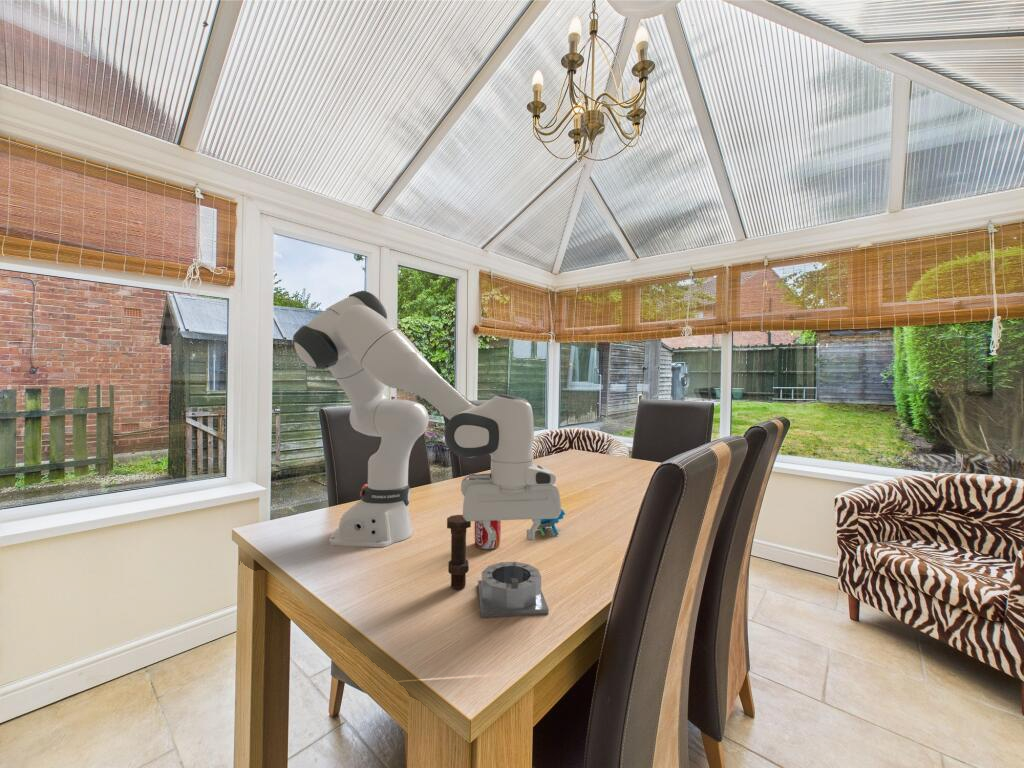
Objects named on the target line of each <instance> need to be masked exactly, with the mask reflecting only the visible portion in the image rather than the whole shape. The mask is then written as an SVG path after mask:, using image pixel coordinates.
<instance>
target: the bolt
mask: <svg viewBox="0 0 1024 768" xmlns="http://www.w3.org/2000/svg"><path fill="white" fill-rule="evenodd" d="M471 522H472V521H466V520H465V519H464V518H463V514H456V515H450V516H448V517H447V518H446V529H449V530H450V534H451V535H450V538H451V539H450V549H451V552H450V555H451V556H450V560H449V561H448V562H447V563H448V565H447V566H448V573H449V574H450V587H451V588H452V589H454V590H459V591H460V590H463V588H465V587H466V584H467V582H466V581H467V579H466V578H467V576H466V575H467V573H468V572H469V569H470V567H469V566H470V565H469V564H470V563H469V560H468V559H467V558H466V557H467V529H468V528H471V526H472V525H471V524H472V523H471Z"/></svg>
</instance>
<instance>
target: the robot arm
mask: <svg viewBox="0 0 1024 768" xmlns="http://www.w3.org/2000/svg"><path fill="white" fill-rule="evenodd" d="M292 343H293V346H294V349H295V352H296V353H297V355H298V356H299V358H300V359H301V360H302V361H303V362H304V363H305V364H307V365H308V366H310V367H312V368H313V369H316V370H325V369H328V370H329V371H330V373H331V374H332V376H333V377H334V379H335V380H336V381H337V383H338V384H339V386H340V387H341V389H342V390H343V392H344V393H345V394H346V396H347V397H348V401H350V405H351V409H350V413H349V423H350V425H351V427H352V429H353V430H355V431H356V432H358V433H360V434H363V435H366V436H369V437H379V438H381V439H380V444H379V448H378V449H377V451H376V452H375V453H373V454H372V455H371V456H370V457H369V459H368V460H367V483H365V484H363V486H361V489H360V492H359V497H360V500H359V501H357V502H356V503H355V504H354V505H352V506H350V508H348V509H347V510H346V511H345V512H344V513H343V514H342V516H341V517H340V520H339V523H338V528H336V529H334V531H332V532H331V534H330V535H329V541H328V542H329V544H330V545H331V546H346V547H368V548H369V547H371V548H372V547H373V548H384V547H387V546H389V545H392V544H395V543H397V542H402V541H404V540H407V539H408V538H410V537H411V536H412V535H413V534H414V530H413V525H412V522H411V521H412V520H411V517H410V510H409V509H410V508H409V504H410V500H411V499H410V498H411V497H410V495H411V489H410V483H409V465H410V463H409V461H410V456H411V452H412V450H413V447H414V445H415V443H416V441H418V439H419V438H420V437H421V436H422V435H424V433H425V432H426V431H427V429H428V426H429V421H430V420H429V419H430V417H429V413H428V410H427V409H426V407H425V406H424V405H423V403H419V402H416V401H413V400H410V399H395V398H394V399H392V398H389V397H387V396H386V395H385V394H384V391H383V390H384V388H385V387H386V386H387V387H389V388H393V389H397V390H400V391H405V392H409V393H412V394H414V395H417V396H419V397H421V398H423V399H424V400H426V401H427V402H428V403H429V404H430V405H432V406H433V408H435V409H437V411H439V413H441V414H442V416H444V417H445V418H447V420H449V421H447V423H446V425H445V428H444V441H445V442H444V443H445V444H446V446H447V448H448V449H449V450H450V452H452V453H453V454H454V455H456V456H458V457H461V458H476V457H479V456H480V457H481V456H486V455H489V456H490V473H469V474H468V475H467V476H465V477H463V479H462V480H461V484H460V490H461V491H460V492H461V494H462V495H463V503H462V515H463V518H464V519H465V520H466V521H471V522H475V521H483V525H484V527H485V529H486V531H487V533H488V541H489V542H495V541H496V538H495V537H496V532H495V531H491V529H490V527H489V526H490V521H491V520H501V521H515V520H516V521H518V520H519V521H520V520H521V521H522V520H531V522H532V525H531V527H530V529H529V528H528V529H526V539H527V541H535V539H536V532H537V531H538V530H539V529H538V527H539V525H540V519H554V518H558V517H559V515H560V514H561V509H562V507H561V505H562V503H561V496H560V491H559V488H558V487H557V485H556V481H557V480H556V477H557V476H556V474H555V473H554V471H552V470H551V469H550V468H548V467H545V466H542V465H539V464H535V463H534V454H533V449H532V448H533V442H534V437H535V430H534V428H535V427H534V426H535V425H534V424H535V423H534V422H535V421H534V414H533V407H532V404H531V403H530V402H529V401H528V400H527V399H526V398H523V397H520V396H517V395H512V394H506V393H500V394H496V395H494V396H493V397H492V398H490V399H489V400H487V401H486V402H483V403H482V404H476V403H475V402H472V401H471V400H469V399H468V398H466V397H465V396H464V395H463V394H462V393H461V392H459V390H458V389H456V388H455V387H454V386H453V385H452V384H450V383H449V382H448V381H447V380H446V378H444V377H443V376H442V375H440V373H438V371H437V370H436V369H435V368H434V366H432V365H431V363H430V362H429V361H428V360H427V358H426V357H425V356H424V355H423V354H422V353H421V352H420V351H419V349H418V348H417V347H416V346H415V344H414V343H413V342H412V341H411V340H410V339H409V338H408V337H407V336H406V335H405V333H403V332H402V331H401V330H400V329H399V328H398V327H397V326H396V325H395V324H393V323H392V322H391V321H390V320H389V319H388V314H387V310H386V309H385V306H384V305H383V303H382V302H381V300H380V299H379V298H378V297H377V296H376V295H374V294H373V293H371V292H369V291H366V290H360V291H356V292H353V293H351V294H349V295H348V296H347V297H346V298H343V299H341V300H339V301H337V302H335V303H333V304H332V305H330V306H328V307H327V308H326V309H325V310H324V311H322V312H321V313H319V314H318V315H317V316H315V317H314V318H313V319H311V320H310V321H309V322H308V323H307V324H306V325H302V326H301V327H300V328H299V329H298V330H297V331H296V332H294V334H293V337H292Z"/></svg>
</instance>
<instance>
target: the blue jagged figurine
mask: <svg viewBox="0 0 1024 768" xmlns="http://www.w3.org/2000/svg"><path fill="white" fill-rule="evenodd" d="M565 515H566V512H565V510H564V509H562V508H561V514H560V515H559V517H558V518H554V519H540V525H539V527H538V529H537V530H539V531H540V534H541V535H542V536H545V532H544V529H546V528H552V531H553V533H554V535H555V536H558V535H559V532H558V530H557V527H556V525H555V524H558V523H559V522H560V521H559V520H563V519H564V516H565Z"/></svg>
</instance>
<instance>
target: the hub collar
mask: <svg viewBox="0 0 1024 768" xmlns="http://www.w3.org/2000/svg"><path fill="white" fill-rule="evenodd" d="M477 589H478V599H479V609H480V618H481V619H488V618H504V617H520V616H521V617H522V616H536V615H537V616H539V615H549V614H550V613H549V609H550V608H549V607H548V604H547V601H546V599H545V596H544V594H543V590H542V574H541V572H540V570H539V569H538V568H537V567H534V566H533V565H531V564H529V563H524V562H519V561H502V562H501V561H500V562H498V563H495V564H490V565H488V566H487V567H486V568H485V569H484V570H483V571H481V580H479V579H478V580H477Z"/></svg>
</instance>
